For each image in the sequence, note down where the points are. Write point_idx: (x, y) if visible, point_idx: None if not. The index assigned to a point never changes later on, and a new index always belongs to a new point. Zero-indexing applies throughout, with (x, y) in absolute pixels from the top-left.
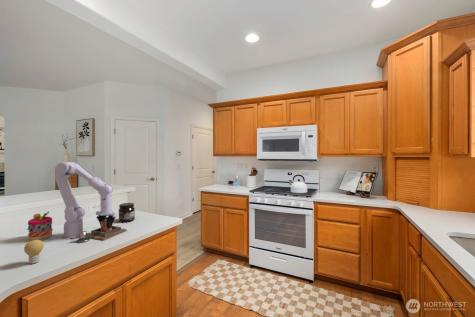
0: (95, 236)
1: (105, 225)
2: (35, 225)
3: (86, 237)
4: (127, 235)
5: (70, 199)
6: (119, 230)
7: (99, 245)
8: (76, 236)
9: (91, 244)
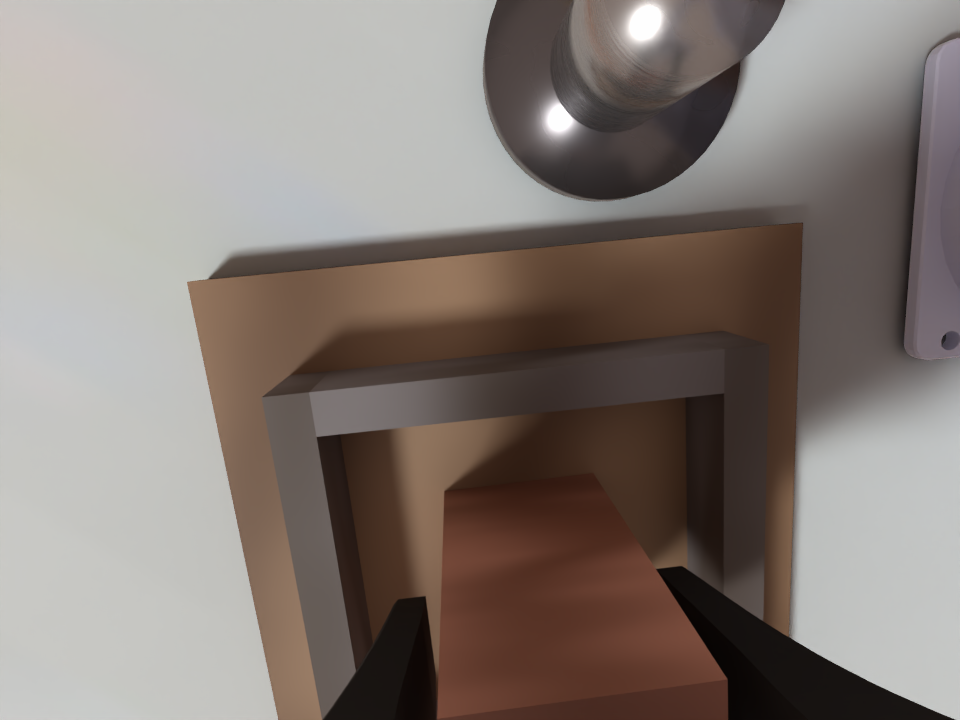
0: (501, 289)
1: (455, 615)
2: None
3: (653, 174)
4: (55, 654)
5: None
6: None
7: (5, 62)
8: (941, 127)
9: (226, 20)
